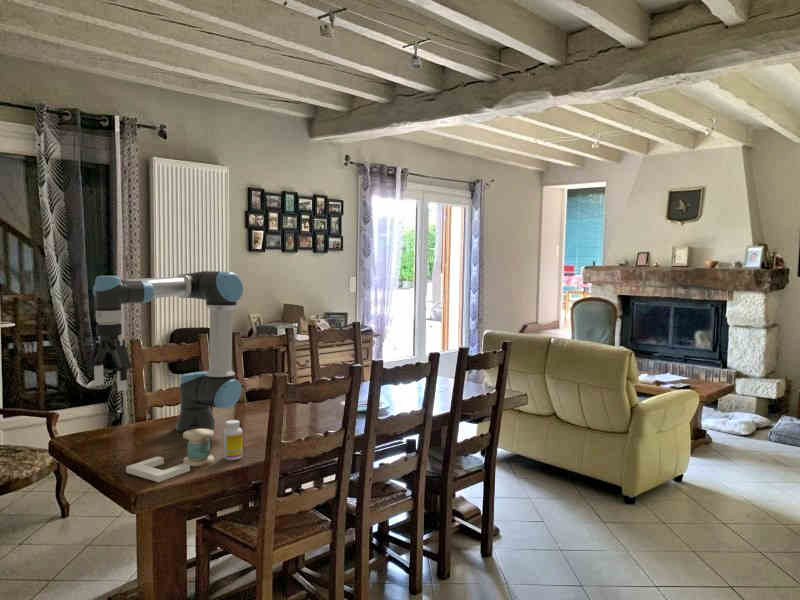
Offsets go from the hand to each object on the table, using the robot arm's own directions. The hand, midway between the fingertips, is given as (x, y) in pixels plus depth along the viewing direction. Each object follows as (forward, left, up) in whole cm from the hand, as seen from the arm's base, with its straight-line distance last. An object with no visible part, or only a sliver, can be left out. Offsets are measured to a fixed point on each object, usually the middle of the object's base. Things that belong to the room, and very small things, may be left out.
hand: (110, 387), depth 195 cm
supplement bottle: (-29, +25, -27) cm, 47 cm away
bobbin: (-20, +18, -27) cm, 38 cm away
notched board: (-6, +15, -27) cm, 32 cm away
